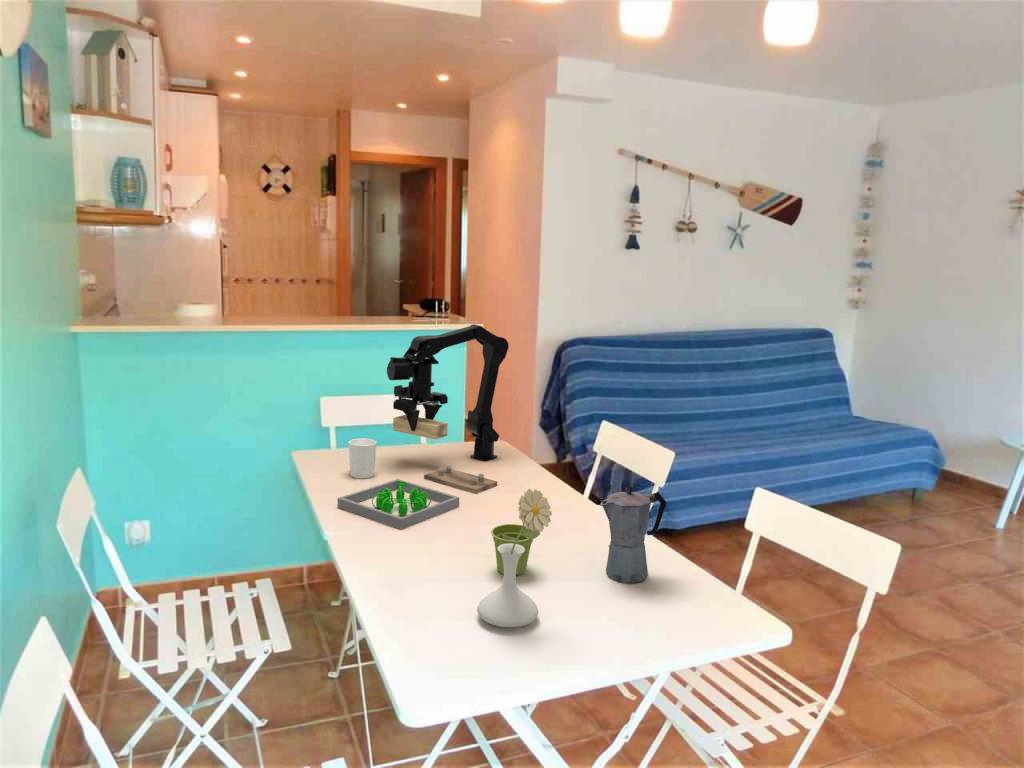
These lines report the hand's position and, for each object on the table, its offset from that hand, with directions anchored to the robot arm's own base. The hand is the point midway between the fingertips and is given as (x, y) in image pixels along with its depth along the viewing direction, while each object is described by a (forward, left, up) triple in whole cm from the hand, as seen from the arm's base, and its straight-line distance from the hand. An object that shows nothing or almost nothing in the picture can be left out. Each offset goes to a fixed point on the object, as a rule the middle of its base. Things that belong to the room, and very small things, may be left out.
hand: (420, 429), depth 231 cm
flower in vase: (+60, +77, -12) cm, 98 cm away
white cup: (+19, -5, -12) cm, 23 cm away
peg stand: (+4, +19, -11) cm, 23 cm away
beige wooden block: (0, 0, -1) cm, 1 cm away
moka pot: (+28, +85, -12) cm, 90 cm away
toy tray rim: (+31, +21, -11) cm, 39 cm away
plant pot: (+43, +65, -12) cm, 79 cm away
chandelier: (+31, +22, -12) cm, 40 cm away
